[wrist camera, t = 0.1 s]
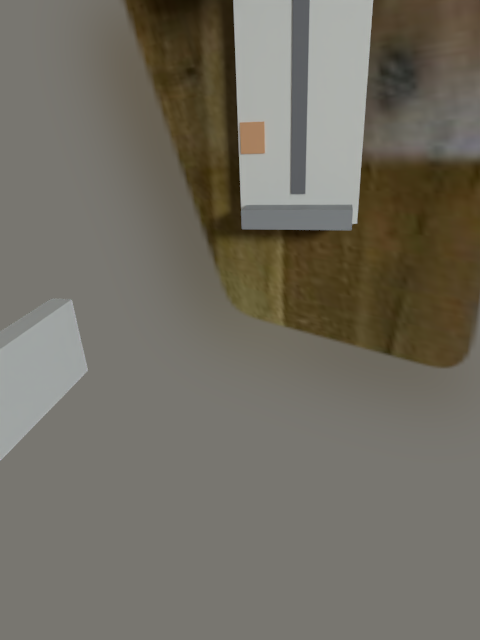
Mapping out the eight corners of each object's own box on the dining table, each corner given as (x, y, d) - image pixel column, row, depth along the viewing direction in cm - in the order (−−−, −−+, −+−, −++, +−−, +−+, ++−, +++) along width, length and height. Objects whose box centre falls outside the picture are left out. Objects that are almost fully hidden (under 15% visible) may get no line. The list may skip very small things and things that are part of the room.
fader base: (228, -252, 28) (212, -304, 24) (392, -288, 26) (400, -350, 22) (244, 219, 40) (235, 229, 37) (356, 220, 38) (358, 230, 35)
